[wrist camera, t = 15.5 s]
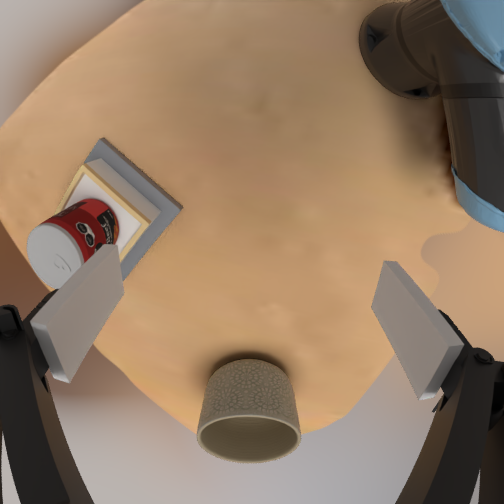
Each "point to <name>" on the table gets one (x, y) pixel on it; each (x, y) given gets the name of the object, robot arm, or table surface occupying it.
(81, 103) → the table surface
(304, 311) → the table surface
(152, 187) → the base
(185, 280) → the table surface
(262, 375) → the planter
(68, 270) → the canned food
